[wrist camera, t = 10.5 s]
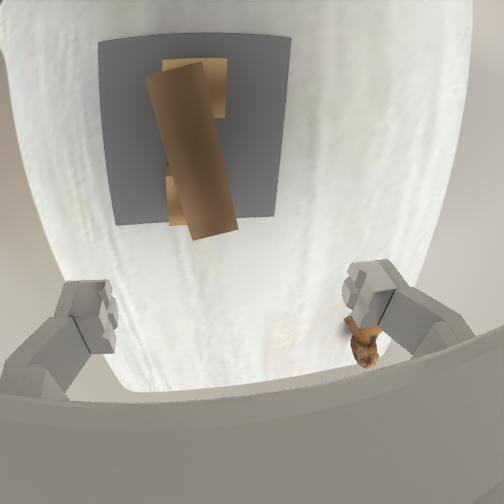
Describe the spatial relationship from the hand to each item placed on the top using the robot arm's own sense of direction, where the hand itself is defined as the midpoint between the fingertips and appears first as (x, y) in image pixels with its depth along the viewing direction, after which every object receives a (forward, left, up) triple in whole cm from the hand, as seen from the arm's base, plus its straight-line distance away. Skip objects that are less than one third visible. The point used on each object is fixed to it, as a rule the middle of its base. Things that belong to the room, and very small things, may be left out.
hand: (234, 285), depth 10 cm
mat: (+1, -1, -23) cm, 23 cm away
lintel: (+1, -1, -18) cm, 18 cm away
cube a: (-4, -1, -23) cm, 23 cm away
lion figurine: (+29, +26, -24) cm, 46 cm away
